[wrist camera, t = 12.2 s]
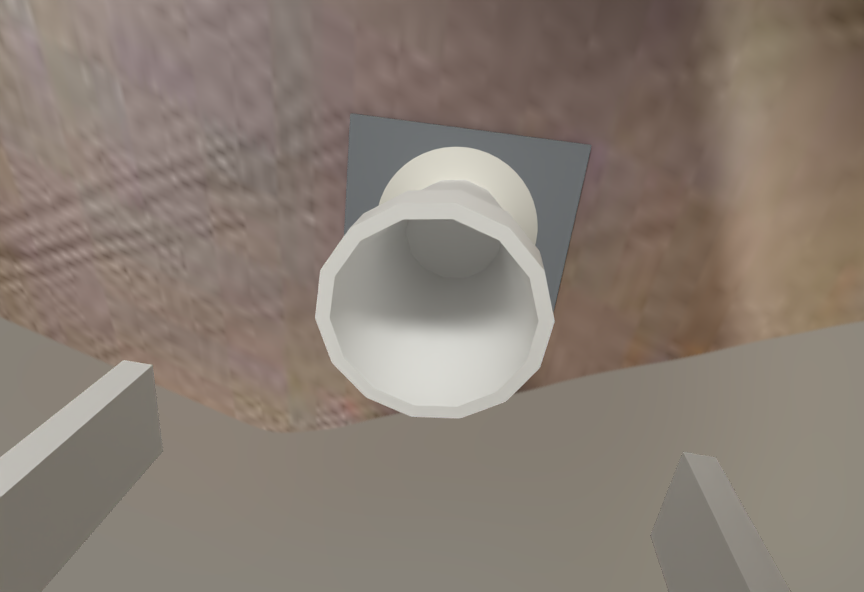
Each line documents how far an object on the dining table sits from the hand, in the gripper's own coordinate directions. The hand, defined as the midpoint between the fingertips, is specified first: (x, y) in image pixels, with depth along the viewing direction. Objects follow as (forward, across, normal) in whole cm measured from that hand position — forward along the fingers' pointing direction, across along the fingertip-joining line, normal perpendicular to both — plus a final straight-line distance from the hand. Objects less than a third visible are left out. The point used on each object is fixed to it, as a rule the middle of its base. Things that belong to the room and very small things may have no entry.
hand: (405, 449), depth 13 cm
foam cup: (+21, 0, -1) cm, 21 cm away
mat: (+22, 0, -1) cm, 22 cm away
